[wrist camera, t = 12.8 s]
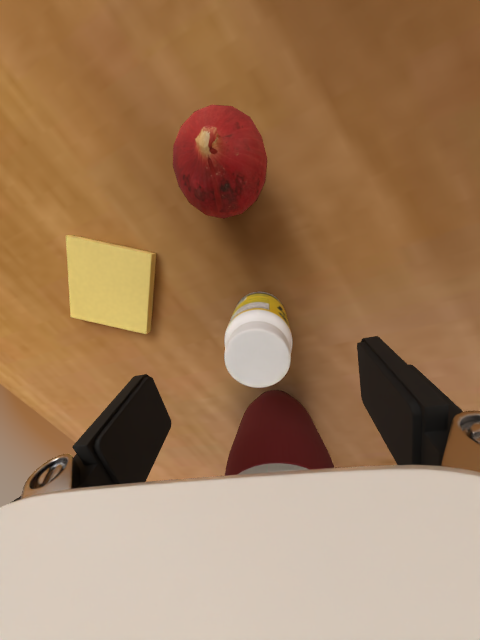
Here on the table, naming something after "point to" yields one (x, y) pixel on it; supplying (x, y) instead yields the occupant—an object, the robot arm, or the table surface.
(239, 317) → the supplement bottle
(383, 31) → the table surface
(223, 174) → the onion
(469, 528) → the robot arm
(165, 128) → the table surface
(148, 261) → the sticky note pad
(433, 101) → the table surface
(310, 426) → the mug
